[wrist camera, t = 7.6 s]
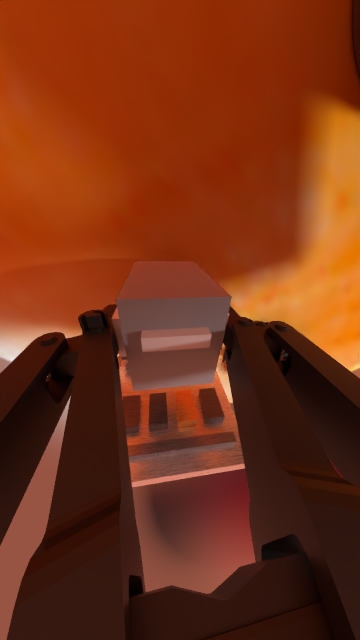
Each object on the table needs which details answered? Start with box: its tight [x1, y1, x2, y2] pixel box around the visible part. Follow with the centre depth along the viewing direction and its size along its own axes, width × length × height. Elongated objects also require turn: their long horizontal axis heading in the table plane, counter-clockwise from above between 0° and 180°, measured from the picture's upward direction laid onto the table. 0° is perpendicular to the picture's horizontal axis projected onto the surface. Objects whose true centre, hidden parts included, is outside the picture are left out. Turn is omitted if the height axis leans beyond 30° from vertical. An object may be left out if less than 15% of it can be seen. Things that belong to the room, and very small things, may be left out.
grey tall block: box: [116, 261, 232, 391], centre depth 12 cm, size 7×5×9 cm
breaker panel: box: [119, 360, 245, 487], centre depth 19 cm, size 4×13×14 cm, turn 88°
